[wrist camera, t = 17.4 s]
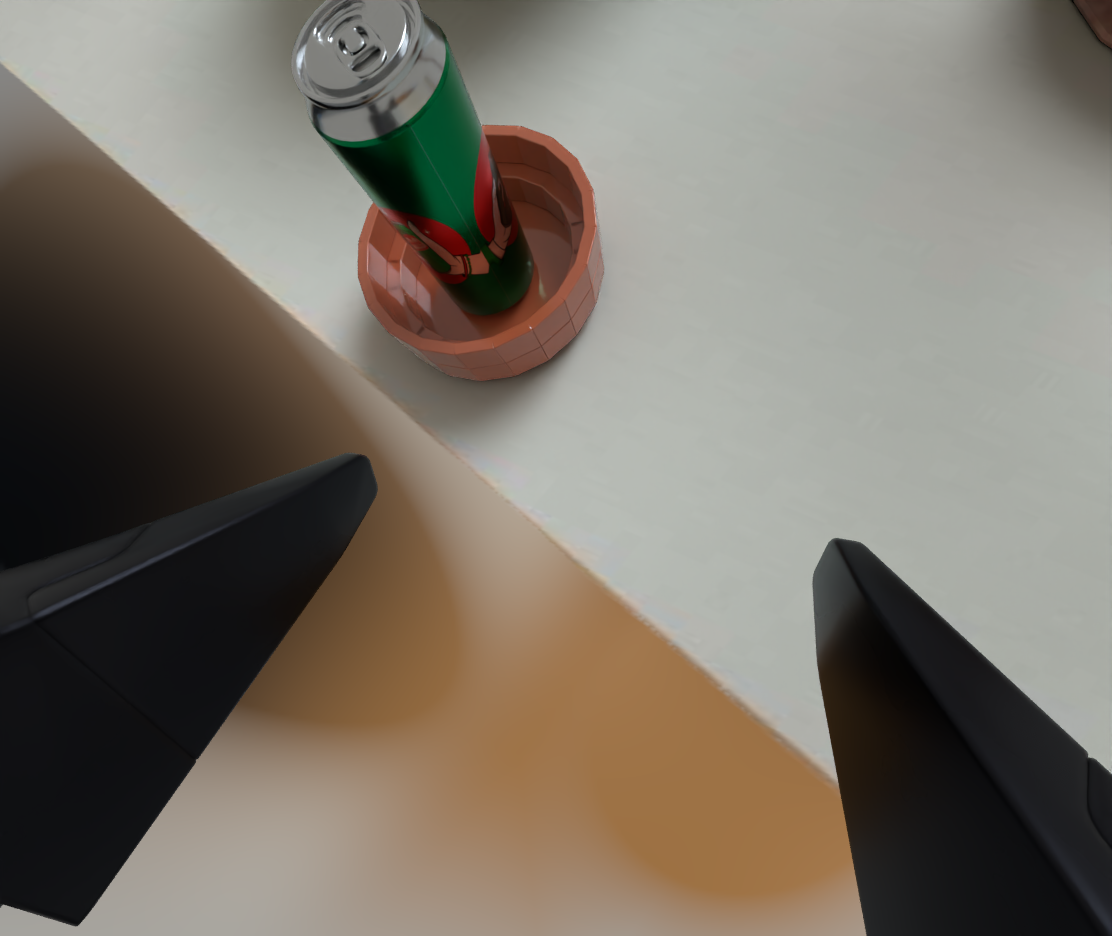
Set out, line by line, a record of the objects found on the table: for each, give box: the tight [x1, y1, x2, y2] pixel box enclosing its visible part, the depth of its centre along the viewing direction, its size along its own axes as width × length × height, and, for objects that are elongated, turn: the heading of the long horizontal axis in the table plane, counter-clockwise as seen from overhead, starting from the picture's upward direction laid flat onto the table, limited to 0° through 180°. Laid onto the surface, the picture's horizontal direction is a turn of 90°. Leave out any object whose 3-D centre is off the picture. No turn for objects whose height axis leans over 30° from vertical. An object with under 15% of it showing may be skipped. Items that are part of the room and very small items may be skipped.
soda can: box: [291, 0, 534, 315], centre depth 19 cm, size 5×5×12 cm
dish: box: [358, 125, 604, 381], centre depth 23 cm, size 12×12×4 cm
